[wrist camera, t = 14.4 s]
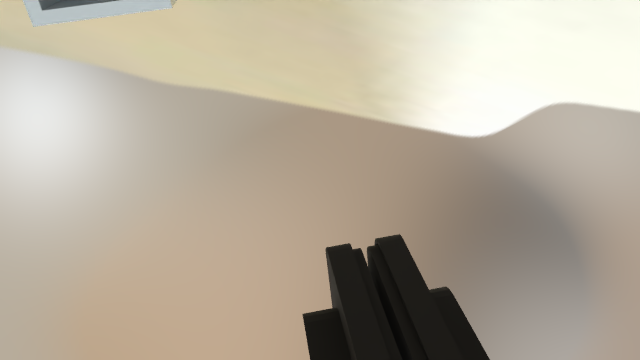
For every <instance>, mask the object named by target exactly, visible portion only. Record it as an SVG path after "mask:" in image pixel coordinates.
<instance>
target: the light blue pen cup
mask: <svg viewBox="0 0 640 360" xmlns="http://www.w3.org/2000/svg"><path fill="white" fill-rule="evenodd" d="M176 1H177V0H23V2H24V5H25V7H26V10H27V12H28V15H29V17H30V20H31V22H32V25H33V27H36V26H43V25H50V24H58V23H65V22H73V21H80V20H88V19H95V18H102V17H110V16H117V15H125V14H132V13H139V12H147V11H154V10H162V9H169V8H173V6H174V4H175V3H176Z"/></svg>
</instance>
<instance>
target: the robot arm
mask: <svg viewBox="0 0 640 360" xmlns="http://www.w3.org/2000/svg"><path fill="white" fill-rule="evenodd" d="M326 258H327V265H328V274H329V282H330V290H331V299H332V307H333V308H332V309H326V310H321V311H316V312H311V313H306V314H303V319H304V325H305V331H306V336H307V343H308V349H309V355H310V360H490V359H489V357H488V356H487V354H486V352H485V350H484V349H483V347H482V345H481V343H480V341H479V340H478V338H477V336H476V334H475V333H474V331H473V329H472V327H471V325H470V324H469V322H468V320H467V318H466V317H465V315H464V313H463V311H462V309H461V308H460V306H459V304H458V302H457V301H456V299H455V297H454V295H453V294H452V292H451V291H450V289H449V288H447V287H442V288H437V289H431V290H429V289H428V287H427V285H426V283H425V281H424V280H423V277H422V275H421V273H420V272H419V270H418V268H417V266H416V264H415V262H414V260H413V258H412V256H411V254H410V252H409V250H408V248H407V246H406V244H405V242H404V240H403V238H402V236H401V235H393V236H388V237H383V238H377V239H375V246H369V247H368V248H367V258H368V266H367V263H366V261H365V258H364V255H363V253H362V250H361V248H358V249H353V250H352V247H351V245H350V244H343V245H338V246H332V247H327V248H326Z"/></svg>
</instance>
